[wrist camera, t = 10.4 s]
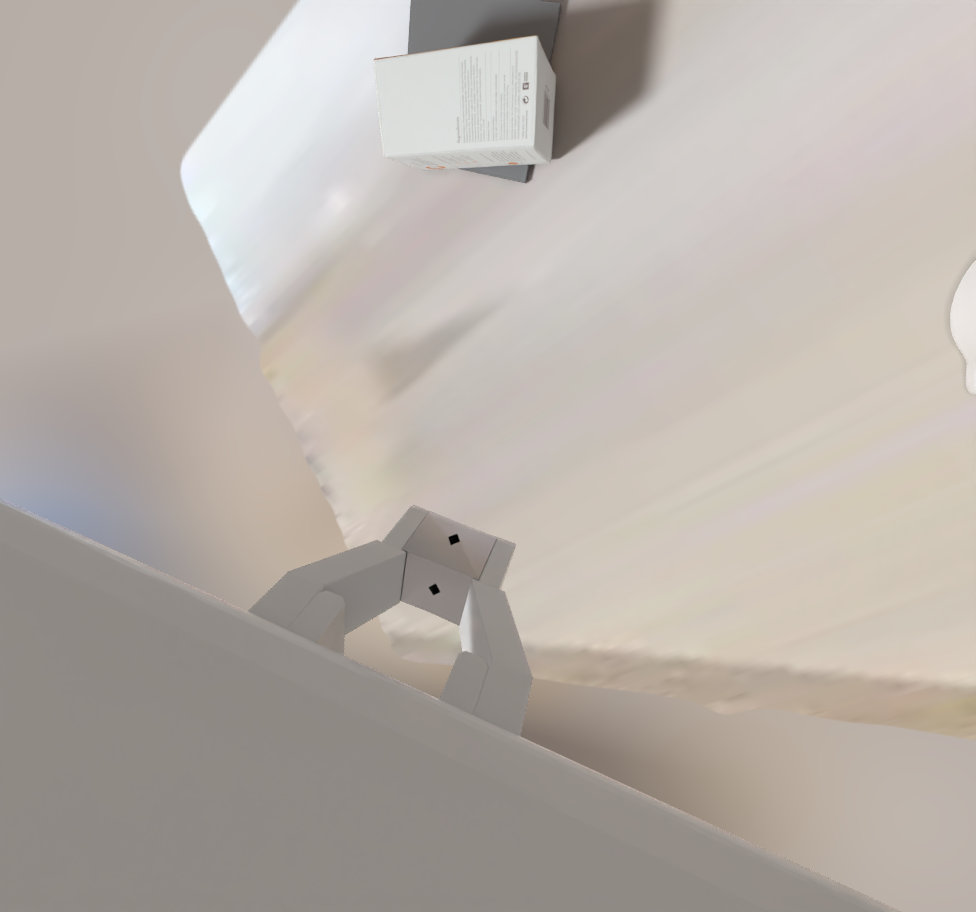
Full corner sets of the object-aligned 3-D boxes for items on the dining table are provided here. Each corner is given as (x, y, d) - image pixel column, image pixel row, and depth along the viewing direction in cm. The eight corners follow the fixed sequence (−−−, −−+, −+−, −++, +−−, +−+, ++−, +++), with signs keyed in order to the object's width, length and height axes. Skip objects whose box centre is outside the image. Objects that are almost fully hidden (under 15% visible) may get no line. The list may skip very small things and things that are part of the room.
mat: (561, 6, 32) (560, 3, 32) (526, 183, 39) (524, 182, 38) (415, -14, 34) (411, -18, 34) (404, 157, 41) (401, 156, 40)
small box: (539, 31, 27) (370, 56, 30) (535, 148, 30) (381, 159, 33) (556, 72, 34) (416, 89, 37) (552, 164, 37) (423, 172, 40)
